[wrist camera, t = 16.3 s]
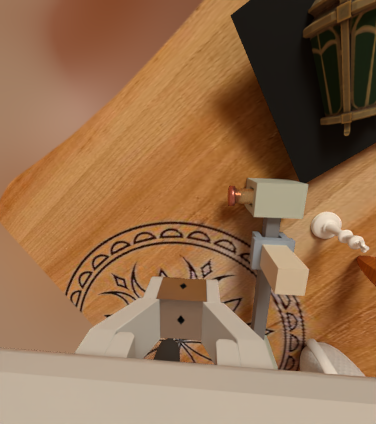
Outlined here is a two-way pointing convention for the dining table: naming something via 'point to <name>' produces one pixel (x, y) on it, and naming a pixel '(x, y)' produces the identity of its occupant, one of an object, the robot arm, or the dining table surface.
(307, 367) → the mug
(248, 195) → the cylinder
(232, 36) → the dining table surface
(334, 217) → the chess piece
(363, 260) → the carrot
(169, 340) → the sundae
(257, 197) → the guide rail
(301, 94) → the lantern
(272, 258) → the carriage
